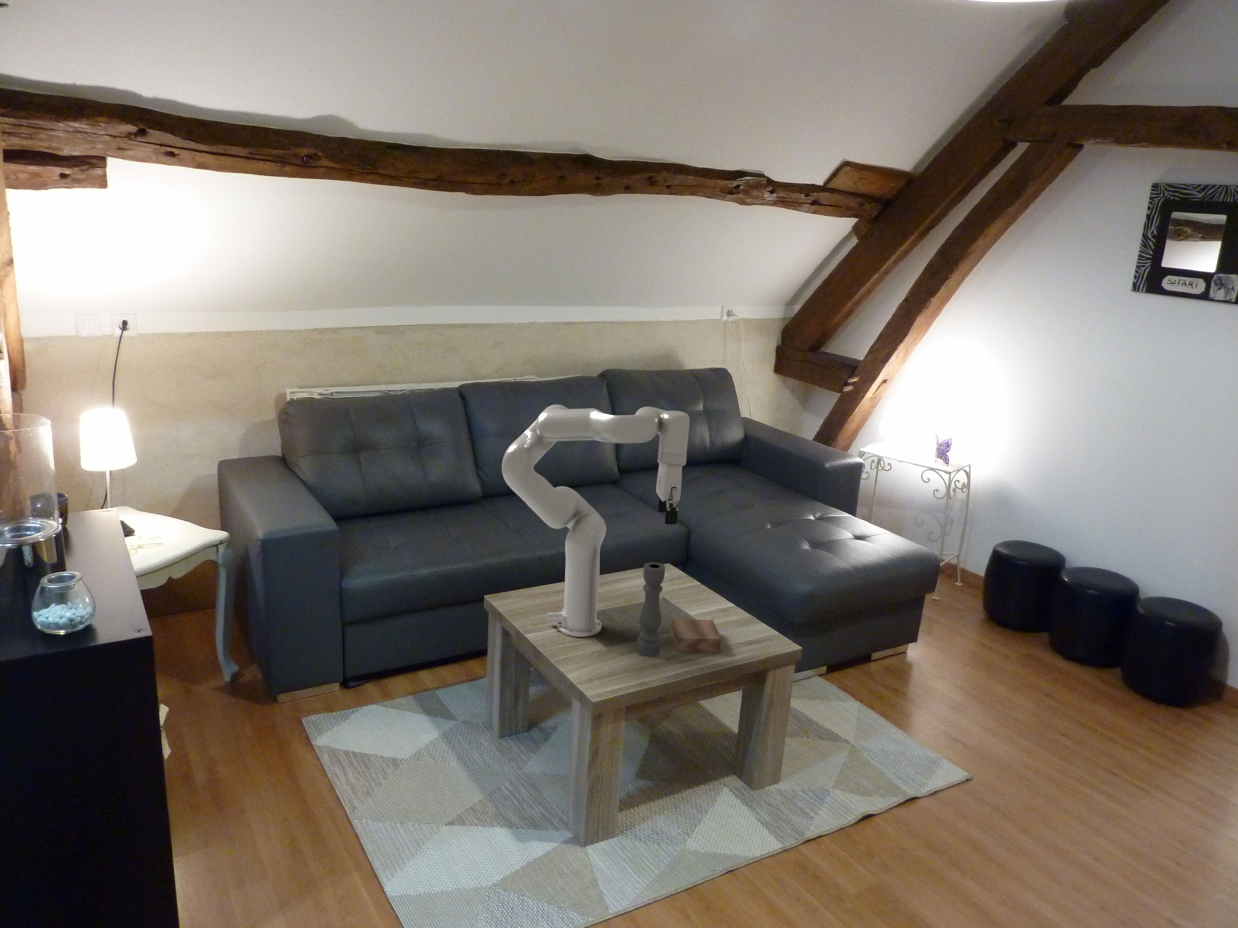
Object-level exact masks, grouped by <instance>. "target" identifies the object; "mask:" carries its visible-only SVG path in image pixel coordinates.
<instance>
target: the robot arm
mask: <svg viewBox="0 0 1238 928" xmlns="http://www.w3.org/2000/svg"><path fill="white" fill-rule="evenodd" d="M689 430H690V416H689V414H688V413H686V412H684V411H681V410H680V411H679V410H665V409H661V408H656V407H653V406H644V407H640V408H639V409H638V410H637V411H635V414H627V415H622V414H621V415H617V414H616V415H615V414H614V415H613V414H608V413H604V412H602V411H601V410H599V409H598V408H597V409H596V408H593V407H591V408H590V407H589V408H568V407H566V406H564V405H562V404H552V405H549V406H547V407H546V408H545V409H543V410H542V412H540V414H539V415H538V417H537V418H536V420H534V421H533V423H532V424H530V426H529V427H528V428H527V429H526V430H525V431H524V432H523V433H522V434H520V436H519V437H517V439H515V440H514V441H513V442H512V443H511V444H510V445H509V446H508V448H507V449H506V451H505V453H504V454H503V458H502V461H501V473H502V476H503V479H504V481H505V483H506V484H507V486H508V487H509V488H510V489H511V490H512V491H513V492H514V493H515V494H516V495H517V496H518V497H520V498H521V500H522V501H523V502H524V503H525V504H526V505H527V506H528V508H530V509H531V510H532V511H533V512H534V513H535V514H536V515H537V516H538V517H539V518H540V519H541V520H542V521H543V522H544V523H545V524H546V525H547V526H548V527H550V528H552V529H556V530H559V529H560V530H561V529H564V528H565V527H566V528H568V529H569V530H568V532H567V535H566V537H565V538H566V539H565V545H564V549H565V550H564V553H565V570H564V574H565V575H564V594H563V595H564V596H563V608H561V611H558V612H547V613H546V619H547V620H551V623H557V624H556V626H557V629H558V631H560V632H561V633H562V634H564V635H567V636H571V637H576V638H578V637H579V638H580V637H581V638H582V637H583V638H584V637H591V636H594V635H597V634H598V633H600V632H601V630H602V622H601V620H599V619H598V618H597V613H598V602H599V601H598V600H599V584H600V569H601V568H600V566H601V565H600V561H601V560H600V556H601V555H600V554H601V553H600V551H601V545H602V543H603V541H604V539H605V536H606V534H607V524H606V522H605V520H604V518H603V517H602V516H601V515H600V514H599V513H598V511H597V510H595V509H594V507H592V506H591V505H590V504H589V503H588V501H586V500H585V499H584V498H583V497H582V496H581V495H580V494H579V493H578V492H577V491H576V490H574V489H572V488H570V487H568V486H557V487H554V486H553V485H552V484H551V483H550V482H549V481H548V480H547V479H546V478H545V477H544V476H542V475H541V474H539V473H538V472H537V471H536V470H535V469H534V467H535V465H536V464H537V463H538V462H539V460H541V459H542V457H543V456H545V454H546V453H547V452H548V451H549V450H550V449H551V448H552V447H553V446H554V445H555V444H556V443H557V442H568V441H570V442H571V441H598V442H603V443H610V444H611V443H612V444H641V443H647V442H649V441H651V440H653V439H654V438H656V435H659V442H658V453H657V463H658V471H657V477H656V478H657V479H656V485H655V490H656V491H655V492H656V494H657V496H658V501H657V512H658V513H664V524H665V525H673V526H674V525H677V523H678V514H679V501H680V499H681V492H682V479H683V478H682V476H683V473H682V472H683V466H686V464H687V451H688V442H689V433H690V432H689Z"/></svg>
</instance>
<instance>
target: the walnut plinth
mask: <svg viewBox="0 0 1238 928" xmlns="http://www.w3.org/2000/svg"><path fill="white" fill-rule="evenodd" d="M670 635H671V638H672V640H673V641H672V642H673V644H674V648H675V650H676V652H678V653H680V652H681V653H682V652H683V653H720V652H721V647H722V646H721V645H722V637H721V636H720V633H719V631H718V628H717V626H716V624H715V621H714V620H713V619H683V618H681V619H680V618H678V619H675V618H674V619H673V618H672V619H671V622H670Z"/></svg>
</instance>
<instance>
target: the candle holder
mask: <svg viewBox="0 0 1238 928" xmlns="http://www.w3.org/2000/svg"><path fill="white" fill-rule="evenodd" d="M665 571H666V565H665V564H663V563H661V562H656V561H653V562H652V561H651V562H646V563H644V565H643V573H642V574H643V575H642V576H643V581H644V582H645V584H644V585H643V587H642V588H643V591H644V593H645V595H644V603H643V605H642V608H641V612H640V615H639V618H638V622H639V625H640V627H641V630H640V632H639V633H638V638H637V643H636V652H637V654H639V655H640V656H642V655H643V657H647V656H648V657H647V658H650V657H651V658H652V657H655V656H656V657H657V656H658V655H659V654H660V648H661V647H660V644H661V640H660V636H661V635H660V633H659V632H658V629H659V628H660V626H661V624H662V620H663V619H662V613H661V606H660V594H661V592H663V586H662V583H663V581H664V579H665V573H666V572H665Z"/></svg>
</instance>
